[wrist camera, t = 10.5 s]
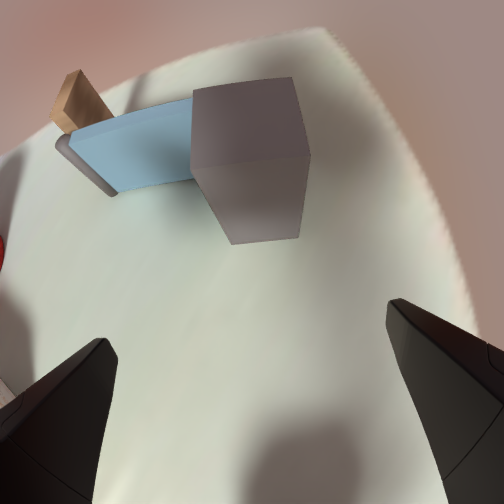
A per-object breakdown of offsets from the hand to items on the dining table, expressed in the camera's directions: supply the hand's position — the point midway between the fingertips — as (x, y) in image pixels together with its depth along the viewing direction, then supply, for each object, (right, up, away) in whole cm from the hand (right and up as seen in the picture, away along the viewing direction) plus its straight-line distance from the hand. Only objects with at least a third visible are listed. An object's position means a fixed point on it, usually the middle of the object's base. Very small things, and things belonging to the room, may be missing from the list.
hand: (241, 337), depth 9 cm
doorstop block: (+1, +6, +14) cm, 16 cm away
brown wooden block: (-13, +12, +18) cm, 25 cm away
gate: (-6, +9, +16) cm, 19 cm away
